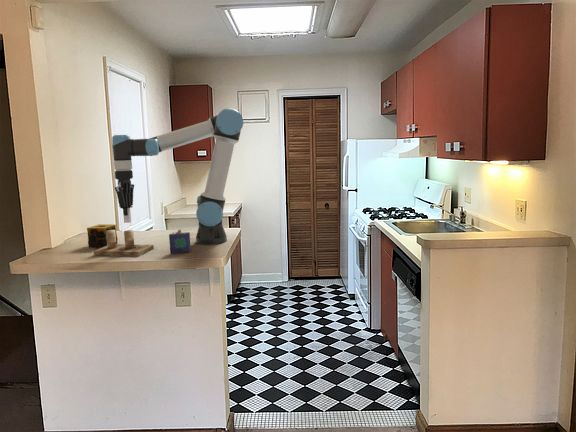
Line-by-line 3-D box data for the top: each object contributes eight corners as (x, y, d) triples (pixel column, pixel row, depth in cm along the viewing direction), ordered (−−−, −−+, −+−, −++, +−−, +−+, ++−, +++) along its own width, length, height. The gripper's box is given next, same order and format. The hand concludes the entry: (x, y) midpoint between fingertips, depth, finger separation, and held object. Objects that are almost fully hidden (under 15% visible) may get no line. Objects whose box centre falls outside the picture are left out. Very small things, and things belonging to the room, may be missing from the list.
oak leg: (136, 251, 216) (134, 230, 214) (132, 253, 212) (130, 231, 210) (128, 251, 217) (126, 229, 215) (123, 253, 213) (121, 231, 211)
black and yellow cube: (106, 248, 224) (104, 228, 222) (87, 248, 226) (85, 227, 224) (118, 243, 234) (116, 224, 232) (100, 243, 236) (98, 224, 234)
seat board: (153, 248, 220) (152, 228, 218) (139, 256, 206) (137, 234, 204) (110, 248, 224) (108, 227, 222) (93, 255, 210) (91, 233, 208)
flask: (190, 250, 214) (188, 227, 212) (191, 252, 211) (190, 228, 210) (169, 253, 210) (168, 229, 209) (171, 254, 208) (169, 231, 206)
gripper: (123, 169, 215) (127, 219, 219) (107, 171, 203) (112, 224, 206) (138, 169, 214) (142, 219, 218) (123, 170, 201) (127, 225, 205)
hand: (127, 222), depth 212 cm, fingers closed
